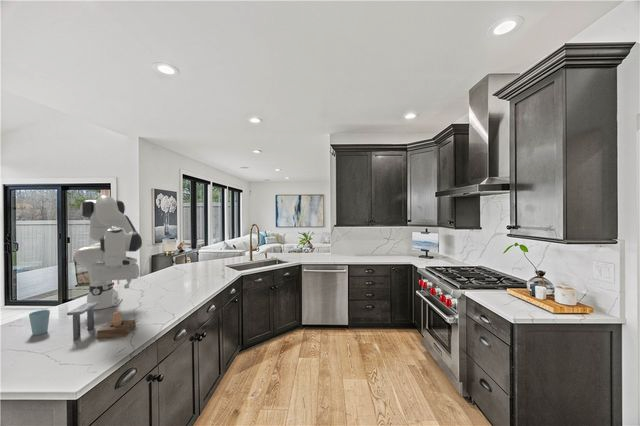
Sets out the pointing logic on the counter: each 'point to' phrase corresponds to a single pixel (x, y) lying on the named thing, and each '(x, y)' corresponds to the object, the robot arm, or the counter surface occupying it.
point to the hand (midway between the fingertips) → (116, 288)
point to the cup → (39, 321)
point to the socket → (116, 329)
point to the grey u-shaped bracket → (76, 318)
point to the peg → (116, 319)
